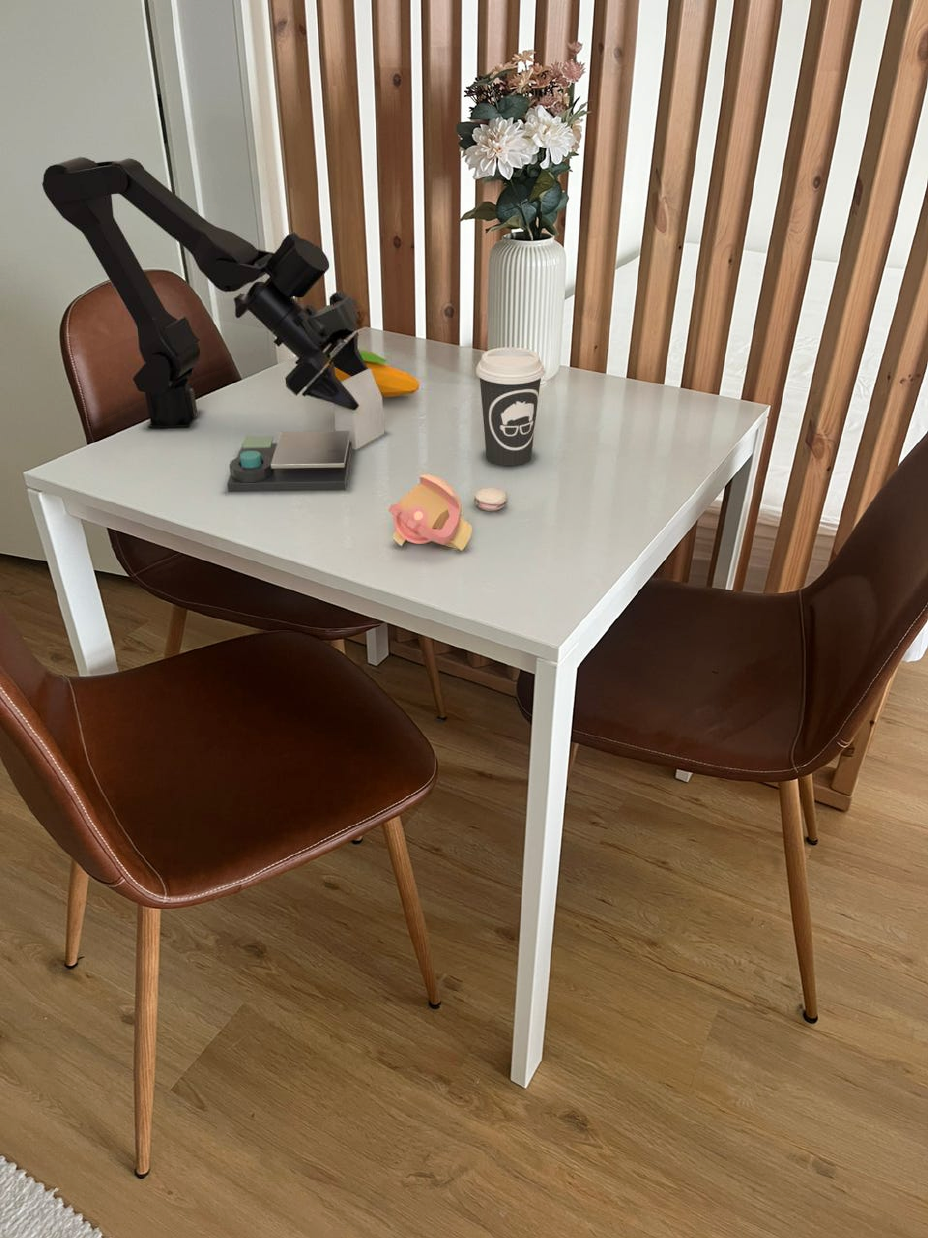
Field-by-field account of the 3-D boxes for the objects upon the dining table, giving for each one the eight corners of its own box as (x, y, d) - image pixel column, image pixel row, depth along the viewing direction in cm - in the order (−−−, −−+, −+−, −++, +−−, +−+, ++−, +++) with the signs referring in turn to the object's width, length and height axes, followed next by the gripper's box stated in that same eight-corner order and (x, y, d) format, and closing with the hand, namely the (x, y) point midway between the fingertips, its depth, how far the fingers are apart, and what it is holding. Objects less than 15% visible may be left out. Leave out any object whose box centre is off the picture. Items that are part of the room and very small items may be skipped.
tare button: (239, 469, 137) (238, 459, 136) (242, 460, 140) (241, 450, 139) (260, 469, 137) (258, 459, 136) (263, 460, 140) (261, 450, 139)
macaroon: (468, 507, 133) (468, 490, 132) (492, 494, 136) (492, 477, 135) (493, 517, 131) (493, 500, 130) (517, 503, 134) (517, 486, 133)
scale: (228, 492, 137) (225, 472, 136) (243, 452, 148) (241, 433, 146) (345, 490, 138) (343, 470, 136) (352, 450, 148) (350, 431, 147)
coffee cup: (551, 449, 148) (555, 350, 140) (526, 476, 141) (530, 373, 132) (491, 438, 151) (492, 341, 143) (465, 464, 144) (464, 363, 136)
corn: (321, 335, 167) (429, 352, 160) (326, 378, 172) (432, 396, 165) (298, 353, 162) (408, 370, 155) (304, 396, 167) (412, 415, 160)
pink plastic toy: (382, 532, 129) (424, 470, 129) (446, 576, 129) (488, 514, 129) (374, 528, 120) (419, 461, 119) (443, 575, 120) (488, 509, 119)
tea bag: (384, 434, 153) (380, 370, 147) (355, 449, 148) (351, 385, 143) (365, 428, 155) (361, 366, 149) (336, 444, 150) (331, 379, 145)
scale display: (242, 448, 142) (241, 446, 142) (246, 437, 145) (245, 436, 145) (270, 448, 142) (270, 446, 142) (273, 437, 145) (273, 435, 145)
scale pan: (270, 468, 137) (270, 464, 136) (281, 435, 146) (280, 431, 145) (344, 467, 137) (344, 463, 136) (350, 434, 146) (350, 430, 145)
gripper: (298, 298, 131) (385, 384, 136) (339, 260, 147) (416, 339, 151) (249, 354, 137) (333, 434, 142) (293, 312, 152) (368, 386, 157)
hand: (365, 396), depth 148 cm, fingers open, 9 cm apart
